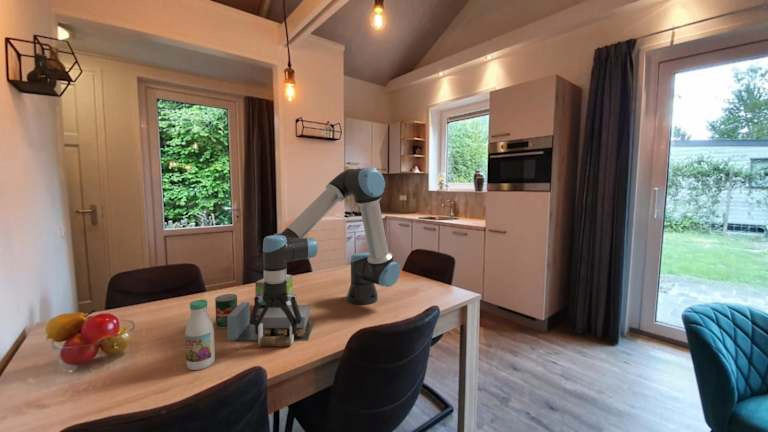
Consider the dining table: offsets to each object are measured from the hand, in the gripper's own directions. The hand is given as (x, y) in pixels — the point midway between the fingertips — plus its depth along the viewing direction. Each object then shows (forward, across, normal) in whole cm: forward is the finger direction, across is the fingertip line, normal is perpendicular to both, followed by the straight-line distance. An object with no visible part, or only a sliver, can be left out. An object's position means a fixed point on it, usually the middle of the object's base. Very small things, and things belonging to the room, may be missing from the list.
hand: (276, 342), depth 113 cm
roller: (+1, 0, 0) cm, 1 cm away
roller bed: (+1, +2, -10) cm, 11 cm away
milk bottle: (+1, +20, +12) cm, 23 cm away
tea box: (+1, +9, -32) cm, 33 cm away
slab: (-3, -1, -10) cm, 11 cm away
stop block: (+1, +16, -10) cm, 20 cm away
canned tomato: (+1, +24, -18) cm, 30 cm away
